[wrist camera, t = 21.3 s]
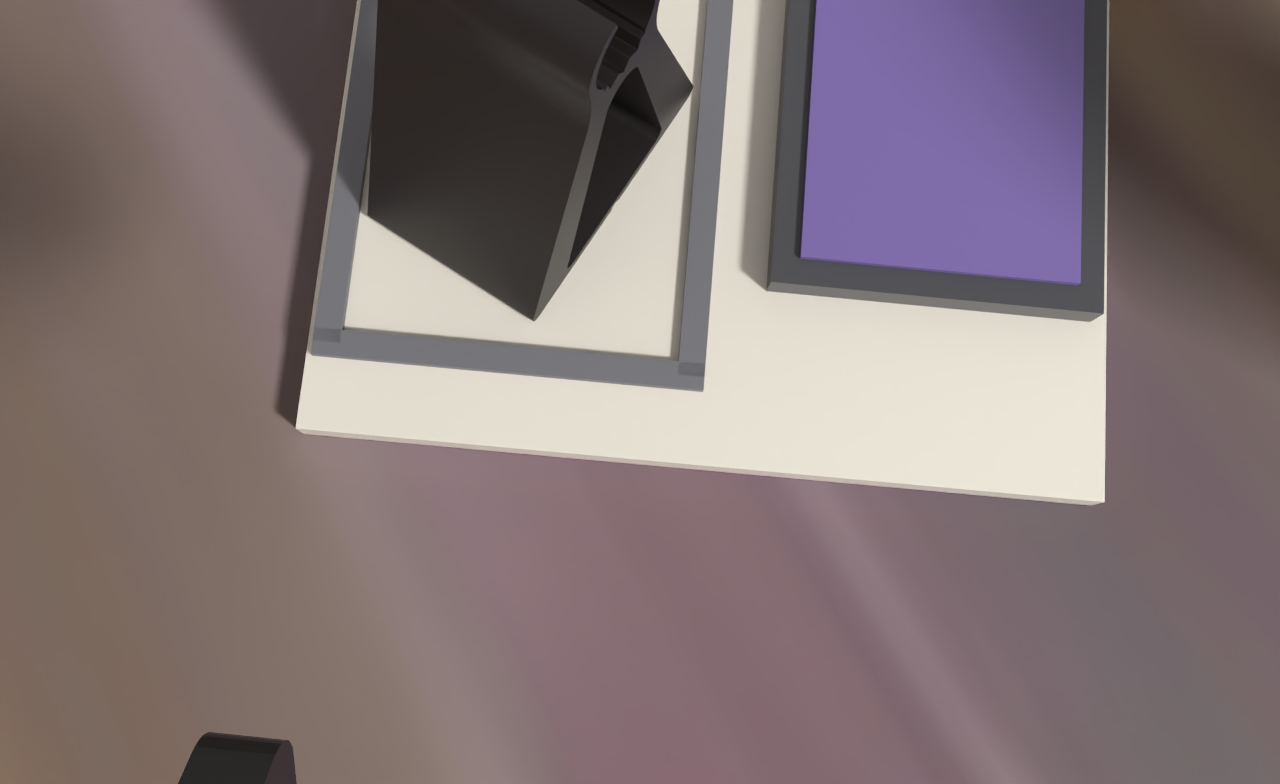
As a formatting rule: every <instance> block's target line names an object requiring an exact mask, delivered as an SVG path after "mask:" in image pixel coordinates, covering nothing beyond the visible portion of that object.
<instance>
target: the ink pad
mask: <svg viewBox="0 0 1280 784" xmlns="http://www.w3.org/2000/svg"><path fill="white" fill-rule="evenodd" d="M1106 64H1107V0H786V5H785V20H784V35H783V50H782V65H781V80H780V95H779V109H778V124H777V139H776V154H775V169H774V184H773V199H772V213H771V228H770V243H769V258H768V273H767V288H766V291H770V292H780V293H791V294H801V295H812V296H822V297H833V298H843V299H854V300H864V301H875V302H885V303H896V304H906V305H917V306H927V307H938V308H948V309H959V310H969V311H980V312H990V313H1001V314H1011V315H1022V316H1032V317H1043V318H1053V319H1064V320H1074V321H1085V322H1091V321H1093V320H1094V319H1096V318H1098V317H1099V316H1101V315H1103V314H1104V265H1105V165H1106Z"/></svg>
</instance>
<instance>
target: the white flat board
mask: <svg viewBox="0 0 1280 784" xmlns="http://www.w3.org/2000/svg"><path fill="white" fill-rule="evenodd" d="M707 1H708V0H660V2H659V7H658V12H657V28H658V31H659V32H660V34H661V36H662V37H663V39H664V40H665V42H666V44H667V45H668V47H669V48H670V50H671V51H672V53H673V55H674V56H675V58H676V59H677V61H678V63H679V64H680V66H681V67H682V69H683V70H684V72H685V74H686V75H687V77H688V78H689V80H690V82H691V83H692V85H693V89H692V92H691V94H690V96H689V97H688V99H687V101H686V102H685V103H684V105H683V106H682V108H681V109H680V111H679V112H678V114H677V115H676V117H675V118H674V120H673V121H672V123H671V124H670V125H669V127H668V128H667V130H666V131H665V133H664V134H663V136H662V137H661V139H660V140H659V142H658V143H657V144H656V146H655V147H654V149H653V150H652V152H651V153H650V155H649V156H648V158H647V159H646V161H645V162H644V163H643V165H642V166H641V168H640V169H639V171H638V172H637V174H636V175H635V177H634V178H633V180H632V181H631V183H630V184H629V185H628V187H627V188H626V190H625V191H624V193H623V194H622V196H621V197H620V199H619V200H617V201H616V203H615V204H614V206H613V207H612V210H611V212H610V213H609V215H608V216H607V218H606V219H605V221H604V222H603V223H602V225H601V226H600V228H599V229H598V231H597V232H596V234H595V235H594V237H593V238H592V240H591V241H590V243H589V244H588V245H587V247H586V248H585V250H584V251H583V253H582V254H581V256H580V257H579V259H578V260H577V262H576V263H575V264H574V266H573V267H572V269H571V270H570V272H569V273H568V275H567V276H566V278H565V279H564V281H563V282H562V283H561V285H560V286H559V288H558V289H557V291H556V292H555V294H554V295H553V297H552V298H551V300H550V301H549V303H548V304H547V305H546V307H545V308H544V310H543V311H542V313H541V314H540V316H539V317H538V318H537V319H536V320H535V321H532V320H530V319H529V318H527V317H526V316H524V315H523V314H521V313H519V312H518V311H516V310H515V309H513V308H512V307H510V306H508V305H507V304H505V303H504V302H502V301H501V300H499V299H497V298H496V297H494V296H493V295H491V294H490V293H488V292H486V291H485V290H483V289H482V288H480V287H479V286H477V285H475V284H474V283H472V282H471V281H469V280H468V279H466V278H464V277H463V276H461V275H460V274H458V273H457V272H455V271H453V270H452V269H450V268H449V267H447V266H446V265H444V264H442V263H441V262H439V261H438V260H436V259H435V258H433V257H431V256H430V255H428V254H427V253H425V252H424V251H422V250H420V249H419V248H417V247H416V246H414V245H413V244H411V243H409V242H408V241H406V240H405V239H403V238H402V237H400V236H398V235H397V234H395V233H394V232H392V231H391V230H389V229H387V228H386V227H384V226H383V225H381V224H380V223H378V222H376V221H375V220H373V219H372V218H370V217H369V216H368V215H367V212H368V192H369V171H370V151H371V137H370V144H369V151H368V159H367V166H366V173H365V180H364V187H363V195H362V202H361V209H360V216H359V224H358V231H357V238H356V245H355V253H354V260H353V267H352V274H351V282H350V289H349V296H348V303H347V311H346V318H345V325H344V330H349V331H360V332H371V333H382V334H392V335H403V336H414V337H424V338H435V339H446V340H456V341H467V342H478V343H489V344H499V345H510V346H521V347H531V348H542V349H553V350H563V351H574V352H585V353H596V354H606V355H617V356H628V357H638V358H649V359H660V360H671V361H678V358H679V345H680V333H681V321H682V308H683V296H684V284H685V272H686V259H687V247H688V235H689V222H690V210H691V198H692V185H693V173H694V161H695V149H696V136H697V124H698V112H699V99H700V87H701V75H702V62H703V50H704V38H705V26H706V13H707ZM360 4H361V0H357V4H356V11H355V18H354V25H353V32H352V39H351V46H350V53H349V60H348V67H347V74H346V81H345V88H344V95H343V102H342V109H341V116H340V123H339V129H338V136H337V143H336V150H335V157H334V164H333V171H332V178H331V185H330V192H329V199H328V206H327V213H326V220H325V227H324V234H323V241H322V248H321V255H320V262H319V268H318V275H317V282H316V289H315V296H314V303H313V310H312V317H311V324H310V331H309V338H308V345H307V352H306V359H305V366H304V373H303V380H302V387H301V394H300V401H299V407H298V414H297V421H296V429H297V430H299V431H300V432H302V433H303V434H312V435H323V436H334V437H345V438H356V439H367V440H378V441H389V442H400V443H411V444H422V445H433V446H444V447H455V448H466V449H477V450H488V451H499V452H510V453H521V454H532V455H542V456H553V457H564V458H575V459H586V460H597V461H608V462H619V463H630V464H641V465H652V466H663V467H674V468H685V469H696V470H707V471H718V472H729V473H740V474H751V475H762V476H773V477H784V478H795V479H806V480H817V481H828V482H839V483H850V484H861V485H872V486H883V487H894V488H905V489H916V490H927V491H938V492H949V493H960V494H971V495H982V496H993V497H1004V498H1015V499H1026V500H1037V501H1048V502H1059V503H1070V504H1081V505H1094V504H1099V503H1103V502H1105V403H1106V298H1107V194H1108V89H1109V0H1107V64H1106V165H1105V265H1104V314H1103V315H1101V316H1099V317H1098V318H1096V319H1094V320H1093V321H1091V322H1085V321H1074V320H1064V319H1053V318H1043V317H1032V316H1022V315H1011V314H1001V313H990V312H980V311H969V310H959V309H948V308H938V307H927V306H917V305H906V304H896V303H885V302H875V301H864V300H854V299H843V298H833V297H822V296H812V295H801V294H791V293H780V292H770V291H766V288H767V273H768V258H769V243H770V228H771V213H772V199H773V184H774V169H775V154H776V139H777V124H778V109H779V95H780V80H781V65H782V50H783V35H784V20H785V5H786V0H733V12H732V25H731V38H730V51H729V65H728V78H727V91H726V104H725V117H724V130H723V143H722V156H721V169H720V182H719V195H718V208H717V221H716V234H715V247H714V260H713V273H712V286H711V299H710V312H709V325H708V338H707V351H706V364H705V377H704V390H703V392H697V391H686V390H676V389H665V388H654V387H643V386H632V385H622V384H611V383H600V382H589V381H579V380H568V379H557V378H546V377H535V376H525V375H514V374H503V373H492V372H482V371H471V370H460V369H449V368H438V367H428V366H417V365H406V364H395V363H385V362H374V361H363V360H352V359H341V358H331V357H320V356H312V355H311V347H312V340H313V333H314V326H315V319H316V312H317V305H318V298H319V291H320V284H321V277H322V270H323V263H324V256H325V249H326V242H327V235H328V228H329V221H330V214H331V207H332V200H333V193H334V186H335V179H336V172H337V165H338V158H339V151H340V144H341V137H342V130H343V123H344V116H345V109H346V102H347V95H348V88H349V81H350V74H351V67H352V60H353V53H354V46H355V39H356V32H357V25H358V18H359V11H360Z"/></svg>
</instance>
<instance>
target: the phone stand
mask: <svg viewBox="0 0 1280 784" xmlns="http://www.w3.org/2000/svg"><path fill="white" fill-rule="evenodd" d="M659 2H660V0H378V7H377V28H376V48H375V69H374V89H373V110H372V130H371V151H370V171H369V192H368V212H367V215H368V216H369V217H370V218H372V219H373V220H375V221H376V222H378V223H380V224H381V225H383V226H384V227H386V228H387V229H389V230H391V231H392V232H394V233H395V234H397V235H398V236H400V237H402V238H403V239H405V240H406V241H408V242H409V243H411V244H413V245H414V246H416V247H417V248H419V249H420V250H422V251H424V252H425V253H427V254H428V255H430V256H431V257H433V258H435V259H436V260H438V261H439V262H441V263H442V264H444V265H446V266H447V267H449V268H450V269H452V270H453V271H455V272H457V273H458V274H460V275H461V276H463V277H464V278H466V279H468V280H469V281H471V282H472V283H474V284H475V285H477V286H479V287H480V288H482V289H483V290H485V291H486V292H488V293H490V294H491V295H493V296H494V297H496V298H497V299H499V300H501V301H502V302H504V303H505V304H507V305H508V306H510V307H512V308H513V309H515V310H516V311H518V312H519V313H521V314H523V315H524V316H526V317H527V318H529V319H530V320H532V321H535V320H536V319H537V318H538V317H539V316H540V314H541V313H542V311H543V310H544V308H545V307H546V305H547V304H548V303H549V301H550V300H551V298H552V297H553V295H554V294H555V292H556V291H557V289H558V288H559V286H560V285H561V283H562V282H563V281H564V279H565V278H566V276H567V275H568V273H569V272H570V270H571V269H572V267H573V266H574V264H575V263H576V262H577V260H578V259H579V257H580V256H581V254H582V253H583V251H584V250H585V248H586V247H587V245H588V244H589V243H590V241H591V240H592V238H593V237H594V235H595V234H596V232H597V231H598V229H599V228H600V226H601V225H602V223H603V222H604V221H605V219H606V218H607V216H608V215H609V213H610V212H611V210H612V207H613V206H614V204H615V203H616V201H617V200H619V199H620V197H621V196H622V194H623V193H624V191H625V190H626V188H627V187H628V185H629V184H630V183H631V181H632V180H633V178H634V177H635V175H636V174H637V172H638V171H639V169H640V168H641V166H642V165H643V163H644V162H645V161H646V159H647V158H648V156H649V155H650V153H651V152H652V150H653V149H654V147H655V146H656V144H657V143H658V142H659V140H660V139H661V137H662V136H663V134H664V133H665V131H666V130H667V128H668V127H669V125H670V124H671V123H672V121H673V120H674V118H675V117H676V115H677V114H678V112H679V111H680V109H681V108H682V106H683V105H684V103H685V102H686V101H687V99H688V97H689V96H690V94H691V92H692V89H693V85H692V83H691V82H690V80H689V78H688V77H687V75H686V74H685V72H684V70H683V69H682V67H681V66H680V64H679V63H678V61H677V59H676V58H675V56H674V55H673V53H672V51H671V50H670V48H669V47H668V45H667V44H666V42H665V40H664V39H663V37H662V36H661V34H660V32H659V31H658V28H657V12H658V7H659Z"/></svg>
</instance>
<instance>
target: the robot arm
mask: <svg viewBox="0 0 1280 784" xmlns="http://www.w3.org/2000/svg"><path fill="white" fill-rule="evenodd" d="M178 784H296V774H295V764H294V755H293V748H292V745H291V743H290V741H288V740H281V739H271V738H261V737H251V736H242V735H232V734H222V733H212V732H208V733H206V734H204V735H203V736H202V737H201V738H200V740H199V741H198V743H197V744H196V746H195V748H194V750H193V752H192V754H191V756H190V758H189V760H188V763H187V765H186V767H185V769H184V772H183V774H182V776H181V778H180V781H179V783H178Z"/></svg>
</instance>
